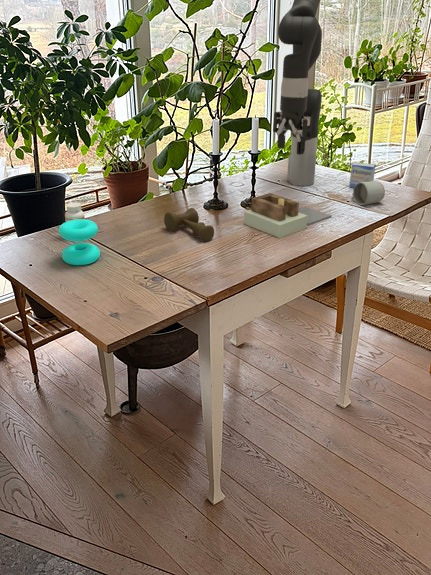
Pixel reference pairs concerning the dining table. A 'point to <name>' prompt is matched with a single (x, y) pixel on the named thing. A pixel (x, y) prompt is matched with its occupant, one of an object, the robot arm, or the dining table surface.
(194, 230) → the brown dog bone
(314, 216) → the coaster
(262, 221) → the stand
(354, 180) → the medicine box
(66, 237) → the donuts
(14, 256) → the dining table surface
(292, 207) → the c link
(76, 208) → the supplement bottle
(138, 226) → the dining table surface
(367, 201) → the ceramic mug
